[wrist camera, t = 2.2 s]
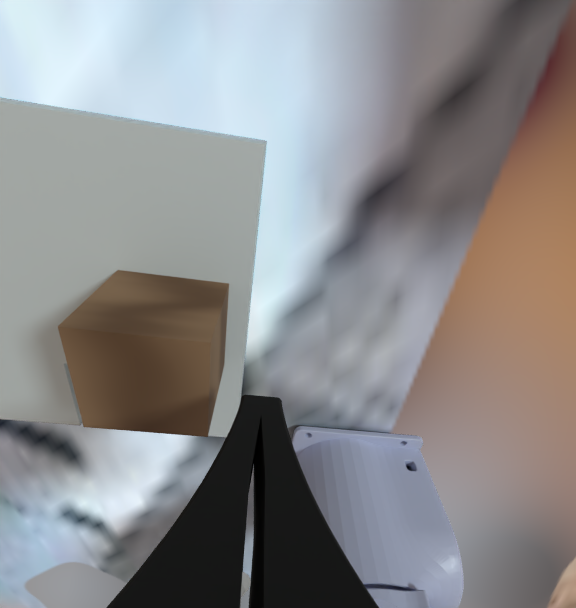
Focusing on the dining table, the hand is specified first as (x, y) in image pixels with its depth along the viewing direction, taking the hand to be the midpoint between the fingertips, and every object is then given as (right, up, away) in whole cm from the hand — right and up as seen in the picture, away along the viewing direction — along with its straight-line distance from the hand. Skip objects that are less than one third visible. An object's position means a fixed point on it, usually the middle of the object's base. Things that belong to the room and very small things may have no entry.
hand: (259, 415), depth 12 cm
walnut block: (-4, +3, +4) cm, 7 cm away
